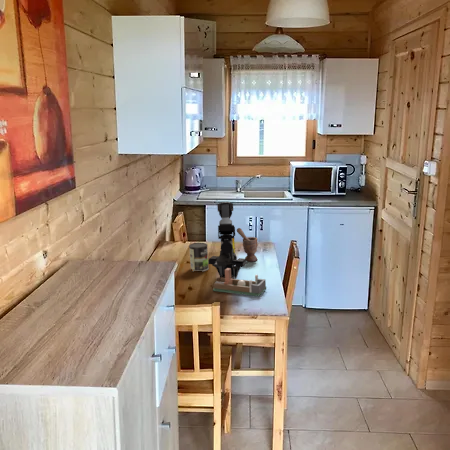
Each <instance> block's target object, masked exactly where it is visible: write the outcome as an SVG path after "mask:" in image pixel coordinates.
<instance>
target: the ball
mask: <svg viewBox="0 0 450 450" xmlns="http://www.w3.org/2000/svg"><path fill="white" fill-rule="evenodd" d="M239 280H240V281H238V283H237V285H238V286H245V281H243V280H244V279H239Z"/></svg>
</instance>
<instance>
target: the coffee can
mask: <svg viewBox="0 0 450 450" xmlns="http://www.w3.org/2000/svg"><path fill="white" fill-rule="evenodd" d="M188 248H189V260H190V261H189V263H190V270H191V269H192V270H193V271H192V272H194V271H202V272H206V271H208V270H209V264H208V260H209V255H208V253H209V252H208V244H207V243H205V242H194V243H190V244H189V245H188Z"/></svg>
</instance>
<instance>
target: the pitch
mask: <svg viewBox="0 0 450 450" xmlns="http://www.w3.org/2000/svg"><path fill="white" fill-rule="evenodd" d="M232 279H233V285H229V284H220V283H215V282H214V283H213V288H212V291H213V292H220V293H229V294H236V295H243V294H245V295H246V296H254V297H260V296H261V295H262V294H263V293H264V291H266V289H267V286H266V279H265V278H264V279H262V278H259V275H258V274H254V280H252V279H249V280H248V279H247V280H246V279H242V280H243V281H245V286H238V285H237V283H238V281H240V280H241V279H237V278H236V279H235V278H232ZM219 281H220V282H225V277H220V279H219Z"/></svg>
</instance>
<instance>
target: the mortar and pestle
mask: <svg viewBox="0 0 450 450" xmlns="http://www.w3.org/2000/svg"><path fill="white" fill-rule="evenodd" d="M236 232H237V234H238V235H239V236H240V237H242V248H243V250H244V253H245V254H246V256H245V258H244V259H246V260H247V263H251V262H257V261H258V257H257V256H256V255H255V254H256V253H257V251H258V238H257V237H256V236H246V235H245V233H244V231H243V230H242V228H240V227H238V228H236Z"/></svg>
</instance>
